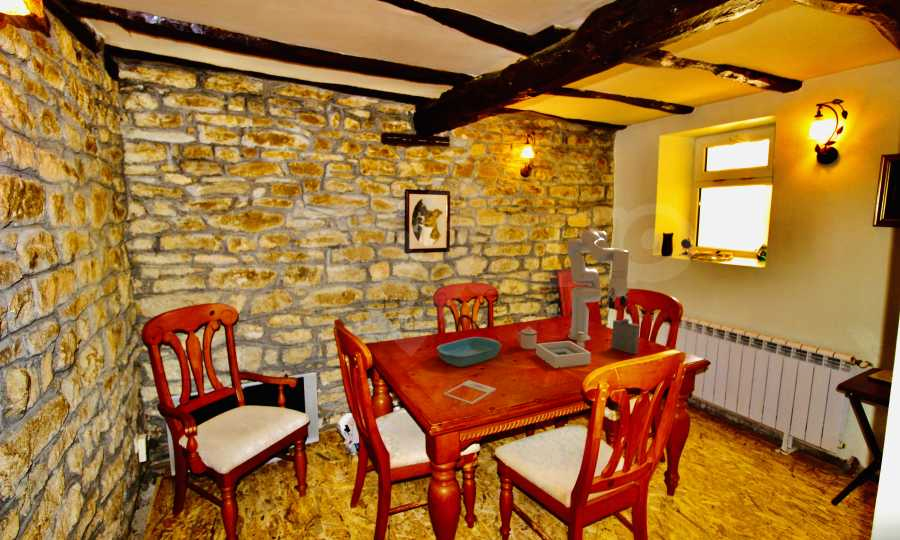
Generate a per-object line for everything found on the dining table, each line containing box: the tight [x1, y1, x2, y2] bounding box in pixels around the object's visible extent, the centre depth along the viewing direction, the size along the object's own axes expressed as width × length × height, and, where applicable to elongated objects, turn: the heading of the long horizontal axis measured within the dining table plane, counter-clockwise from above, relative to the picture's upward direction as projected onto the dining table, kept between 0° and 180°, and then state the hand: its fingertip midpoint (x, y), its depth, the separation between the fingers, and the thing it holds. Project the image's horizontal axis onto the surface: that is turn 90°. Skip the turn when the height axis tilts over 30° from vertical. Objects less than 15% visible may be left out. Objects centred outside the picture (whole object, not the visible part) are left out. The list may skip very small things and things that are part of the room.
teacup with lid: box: [516, 326, 538, 350], centre depth 244 cm, size 12×9×12 cm
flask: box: [611, 318, 640, 355], centre depth 237 cm, size 4×14×18 cm, turn 43°
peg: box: [576, 332, 586, 349], centre depth 238 cm, size 4×4×10 cm
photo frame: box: [443, 379, 497, 405], centre depth 185 cm, size 15×1×18 cm
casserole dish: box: [436, 336, 502, 368], centre depth 226 cm, size 37×22×7 cm, turn 131°
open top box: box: [535, 340, 592, 369], centre depth 225 cm, size 20×20×6 cm
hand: (617, 307), depth 220 cm, fingers open, 9 cm apart
